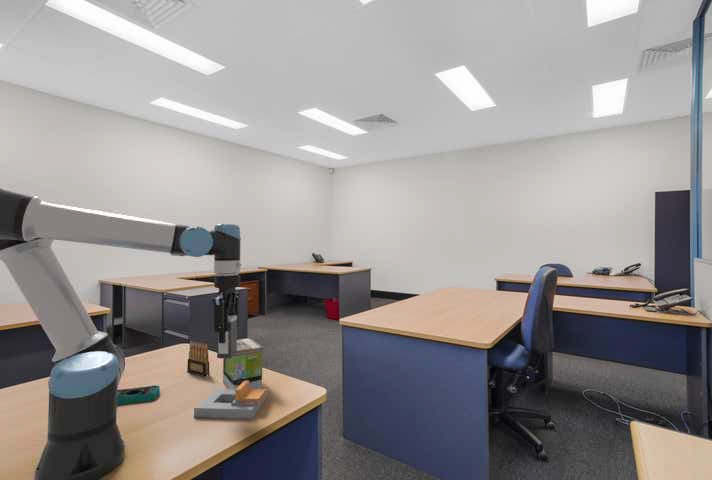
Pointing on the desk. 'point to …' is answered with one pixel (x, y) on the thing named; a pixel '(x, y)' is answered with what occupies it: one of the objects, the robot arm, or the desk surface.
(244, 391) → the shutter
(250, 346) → the tea box
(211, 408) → the socket plate
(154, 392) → the digital multimeter
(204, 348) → the ammunition clip
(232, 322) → the plug
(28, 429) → the desk surface
